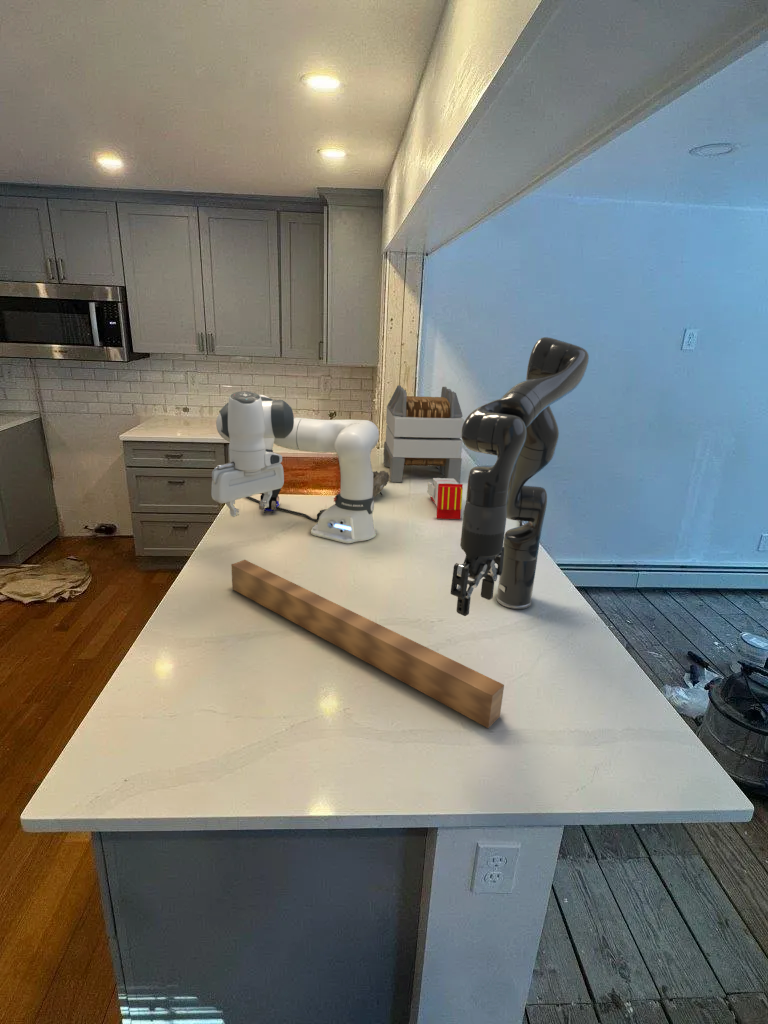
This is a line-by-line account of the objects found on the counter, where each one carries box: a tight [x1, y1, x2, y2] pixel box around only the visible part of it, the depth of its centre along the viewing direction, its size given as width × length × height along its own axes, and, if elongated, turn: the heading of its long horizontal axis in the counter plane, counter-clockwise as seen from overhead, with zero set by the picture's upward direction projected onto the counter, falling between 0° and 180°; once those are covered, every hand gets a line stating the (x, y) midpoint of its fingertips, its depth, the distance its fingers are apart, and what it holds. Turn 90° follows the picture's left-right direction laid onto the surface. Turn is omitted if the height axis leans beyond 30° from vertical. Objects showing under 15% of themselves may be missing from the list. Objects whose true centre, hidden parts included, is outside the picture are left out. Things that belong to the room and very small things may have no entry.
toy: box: [427, 477, 464, 520], centre depth 227 cm, size 12×13×30 cm
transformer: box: [383, 384, 466, 484], centre depth 268 cm, size 34×33×41 cm
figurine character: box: [258, 488, 282, 515], centre depth 216 cm, size 7×8×15 cm
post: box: [230, 559, 505, 729], centre depth 133 cm, size 81×4×8 cm, turn 50°
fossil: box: [373, 470, 390, 498], centre depth 238 cm, size 22×10×15 cm
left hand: (250, 511), depth 146 cm, fingers open, 8 cm apart
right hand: (474, 605), depth 106 cm, fingers open, 8 cm apart
